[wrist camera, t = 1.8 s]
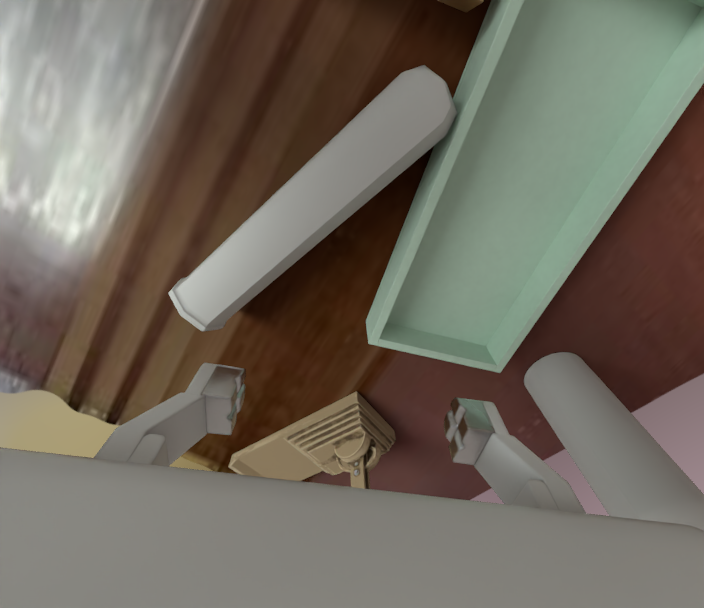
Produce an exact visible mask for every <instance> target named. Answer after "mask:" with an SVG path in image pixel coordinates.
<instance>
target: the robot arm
mask: <svg viewBox="0 0 704 608" xmlns="http://www.w3.org/2000/svg"><path fill="white" fill-rule="evenodd" d="M245 377H246V370H245V369H243V368H237V367H231V366H224V365H216V364H210V363H204V364H202V365H201V367H200V369H199V370H198V372H197V374H196V375H195V377H194V378H193V380H192V382H191V383H190V385H189V387H188V388H187V390H186V392H185V393H179V394H177V395H175V396H174V397H172V398H170V399H168V400H166V401H165V402H163V403H161V404H159V405H157V406H156V407H154V408H152V409H150V410H148V411H147V412H145V413H143V414H141V415H139V416H137V417H136V418H134V419H132V420H130V421H128V422H127V423H125V424H123V425H121V426H119V427H118V428H116V429H115V431H114V432H113V433H112V434H111V436H110V437H109V438H108V440H107V441H106V442H105V444H104V445H103V446H102V448H101V449H100V450H99V452H98V453H97V454H96V456H95V457H94V458H88V457H79V456H70V455H61V454H53V453H44V452H34V451H26V450H17V449H8V448H0V608H704V531H703V530H701V529H699V528H697V527H693V526H690V525H684V524H677V523H667V522H657V521H648V520H639V519H631V518H622V517H613V516H603V515H595V514H586V512H585V511H584V509H583V507H582V505H581V504H580V502H579V500H578V499H577V497H576V495H575V493H574V492H573V490H572V488H571V486H570V485H569V483H568V482H567V481H566V480H565V479H563V478H562V477H561V476H560V475H559V474H558V473H556V472H555V471H554V470H553V469H552V468H550V467H549V466H548V465H547V464H546V463H545V462H543V461H542V460H541V459H540V458H539V457H538V456H536V455H535V454H534V453H533V452H532V451H531V450H529V449H528V448H527V447H526V446H525V445H523V444H522V443H521V442H520V441H519V440H518V439H516V438H515V437H514V436H511V435H509V433H508V431H507V429H506V427H505V425H504V423H503V421H502V419H501V416H500V414H499V412H498V410H497V408H496V406H495V404H494V403H493V402H488V401H478V400H470V399H462V398H454V399H453V400H452V402H451V408H452V410H450V411H449V412H447V414H446V417H445V420H444V432H445V436H446V438H447V439H448V440H449V441H450V442H451V443H450V445H449V450H450V454H451V457H452V460H453V462H456V463H463V464H469V465H475V466H474V467H475V468H476V469H477V470H478V472H479V473H480V474H481V475H482V477H483V478H484V479H485V480H486V482H487V483H488V484H489V485H490V486H491V488H492V489H493V490H494V491H495V493H496V494H497V495H498V496H499V498H500V499H501V500H502V501H503V503H504V504H497V503H488V502H479V501H470V500H461V499H453V498H444V497H435V496H426V495H417V494H408V493H400V492H391V491H382V490H373V489H364V488H355V487H346V486H337V485H328V484H320V483H311V482H302V481H293V480H284V479H275V478H266V477H257V476H248V475H239V474H231V473H222V472H213V471H204V470H194V469H186V468H177V467H169V465H170V464H172V463H173V462H174V461H175V460H176V459H178V458H179V457H180V456H181V455H182V454H184V453H185V452H186V451H187V450H188V449H189V448H191V447H192V446H193V445H194V444H195V443H197V442H198V441H199V440H200V439H201V438H203V437H204V436H205V435H206V433H214V434H225V435H231V433H232V431H233V428H234V426H235V423H236V420H237V413H238V412H239V411H240V410H241V407H242V404H243V400H244V396H245V385H244V383H243V382H244V380H245Z"/></svg>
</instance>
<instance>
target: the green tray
mask: <svg viewBox="0 0 704 608" xmlns="http://www.w3.org/2000/svg"><path fill="white" fill-rule="evenodd" d="M703 83H704V0H491V2H490V5H489V7H488V10H487V12H486V15H485V18H484V20H483V23H482V25H481V28H480V30H479V33H478V35H477V38H476V41H475V43H474V46H473V48H472V51H471V53H470V56H469V58H468V61H467V64H466V66H465V69H464V71H463V74H462V76H461V79H460V81H459V84H458V87H457V89H456V92H455V94H454V97H453V102H454V105H455V107H456V110H457V113H458V114H457V116H456V117H455V119H454V121H453V123H452V125H451V127H450V129H449V131H448V133H447V135H446V136H445V137H444V138H443V139H441V140H440V141H439V142H438V143H437V144H435V145H434V148H433V150H432V153H431V156H430V158H429V161H428V163H427V166H426V168H425V171H424V173H423V176H422V179H421V181H420V184H419V186H418V189H417V191H416V194H415V196H414V199H413V202H412V204H411V207H410V209H409V212H408V214H407V217H406V219H405V222H404V225H403V227H402V230H401V232H400V235H399V237H398V240H397V242H396V245H395V248H394V250H393V253H392V255H391V258H390V260H389V263H388V265H387V268H386V271H385V273H384V276H383V278H382V281H381V283H380V286H379V288H378V291H377V294H376V296H375V299H374V301H373V304H372V306H371V309H370V311H369V314H368V317H367V319H366V327H367V336H368V343H369V344H372V345H377V346H381V347H385V348H390V349H394V350H399V351H403V352H408V353H412V354H417V355H421V356H426V357H430V358H435V359H439V360H444V361H448V362H453V363H457V364H462V365H466V366H471V367H475V368H480V369H484V370H489V371H494V372H498V373H501V371H502V370H503V368H504V367H505V365H506V364H507V363H508V361H509V360H510V358H511V357H512V355H513V354H514V353H515V351H516V350H517V348H518V347H519V346H520V344H521V343H522V341H523V340H524V338H525V337H526V336H527V334H528V333H529V331H530V330H531V328H532V327H533V326H534V324H535V323H536V321H537V320H538V318H539V317H540V316H541V314H542V313H543V311H544V310H545V308H546V307H547V306H548V304H549V303H550V301H551V300H552V298H553V297H554V296H555V294H556V293H557V291H558V290H559V289H560V287H561V286H562V284H563V283H564V281H565V280H566V279H567V277H568V276H569V274H570V273H571V271H572V270H573V269H574V267H575V266H576V264H577V263H578V261H579V260H580V259H581V257H582V256H583V254H584V253H585V251H586V250H587V249H588V247H589V246H590V244H591V243H592V241H593V240H594V239H595V237H596V236H597V234H598V233H599V232H600V230H601V229H602V227H603V226H604V224H605V223H606V222H607V220H608V219H609V217H610V216H611V214H612V213H613V212H614V210H615V209H616V207H617V206H618V204H619V203H620V202H621V200H622V199H623V197H624V196H625V194H626V193H627V192H628V190H629V189H630V187H631V186H632V184H633V183H634V182H635V180H636V179H637V177H638V176H639V175H640V173H641V172H642V170H643V169H644V167H645V166H646V165H647V163H648V162H649V160H650V159H651V157H652V156H653V155H654V153H655V152H656V150H657V149H658V147H659V146H660V145H661V143H662V142H663V140H664V139H665V137H666V136H667V135H668V133H669V132H670V130H671V129H672V127H673V126H674V125H675V123H676V122H677V120H678V119H679V118H680V116H681V115H682V113H683V112H684V110H685V109H686V108H687V106H688V105H689V103H690V102H691V100H692V99H693V98H694V96H695V95H696V93H697V92H698V90H699V89H700V88H701V86H702V85H703Z"/></svg>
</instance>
